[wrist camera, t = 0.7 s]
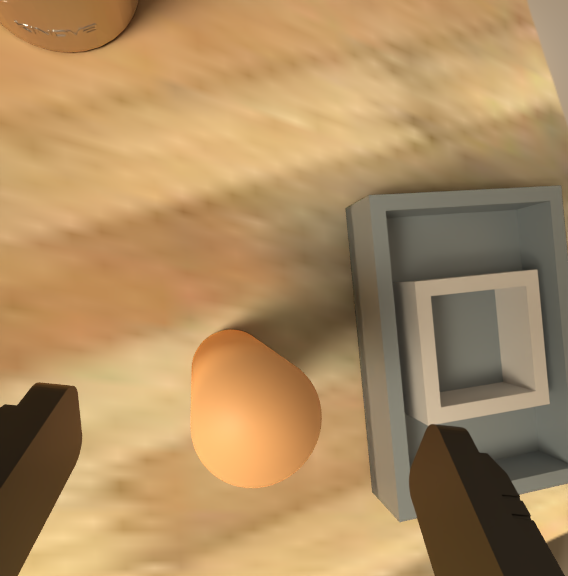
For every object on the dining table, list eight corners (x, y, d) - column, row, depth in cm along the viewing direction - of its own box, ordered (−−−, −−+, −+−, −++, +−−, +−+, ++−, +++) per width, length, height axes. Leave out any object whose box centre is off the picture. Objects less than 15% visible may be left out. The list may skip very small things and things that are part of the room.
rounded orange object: (188, 334, 27) (184, 364, 15) (264, 325, 28) (315, 347, 16) (195, 411, 27) (197, 500, 15) (271, 399, 28) (327, 474, 17)
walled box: (345, 208, 30) (368, 195, 26) (516, 198, 32) (561, 185, 29) (372, 492, 30) (399, 522, 26) (540, 456, 33) (588, 478, 29)
